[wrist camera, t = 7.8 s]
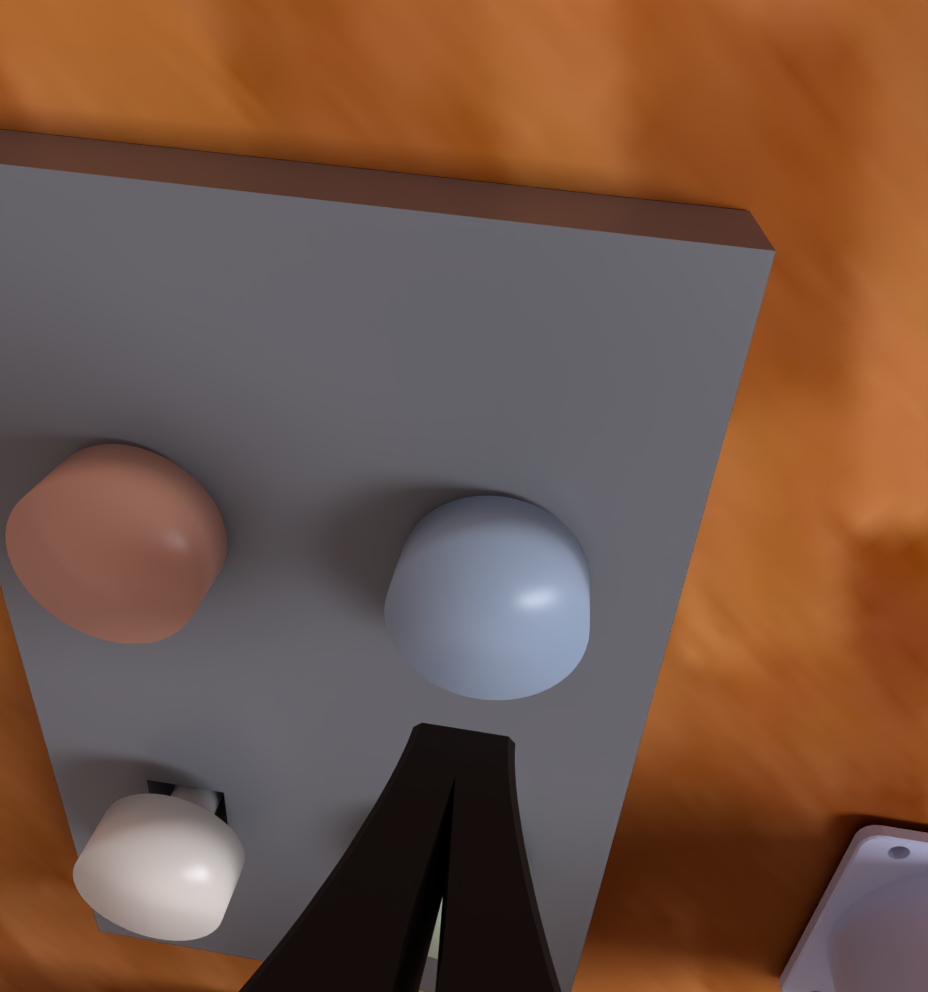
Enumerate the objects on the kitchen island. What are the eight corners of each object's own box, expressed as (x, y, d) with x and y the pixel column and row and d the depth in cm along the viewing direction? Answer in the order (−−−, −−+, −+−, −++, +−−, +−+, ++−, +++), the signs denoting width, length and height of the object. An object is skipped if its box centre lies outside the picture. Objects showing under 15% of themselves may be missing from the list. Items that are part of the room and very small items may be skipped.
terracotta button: (261, 405, 17) (187, 498, 14) (269, 547, 19) (207, 656, 16) (92, 383, 17) (-15, 469, 14) (118, 525, 19) (28, 628, 16)
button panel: (749, 210, 14) (775, 250, 12) (566, 932, 26) (563, 1016, 24) (-24, 126, 15) (-124, 149, 13) (137, 856, 27) (98, 930, 25)
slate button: (604, 450, 16) (606, 557, 13) (577, 592, 18) (572, 713, 15) (425, 427, 17) (386, 526, 14) (417, 569, 19) (381, 684, 16)
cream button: (270, 735, 21) (216, 861, 18) (277, 824, 23) (228, 951, 20) (135, 713, 21) (59, 834, 18) (153, 803, 23) (86, 925, 20)
